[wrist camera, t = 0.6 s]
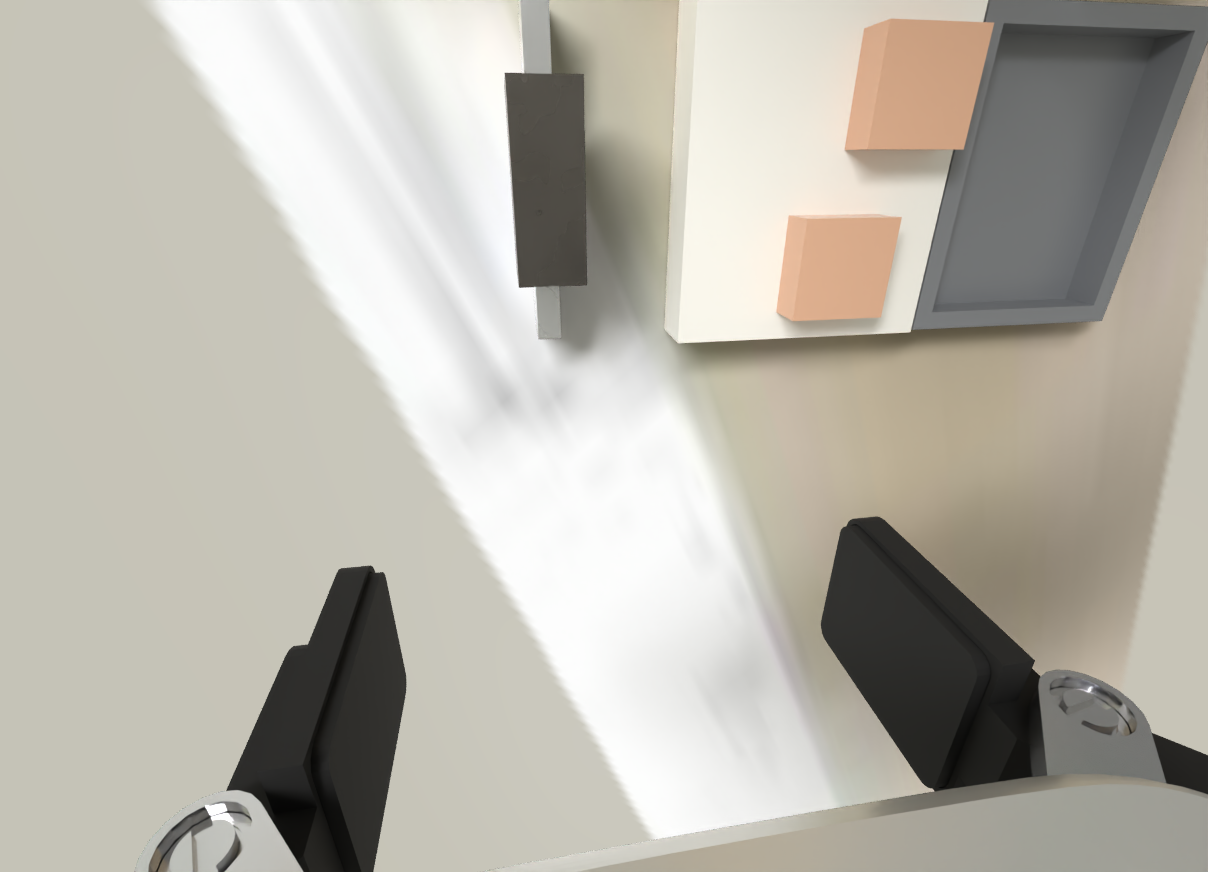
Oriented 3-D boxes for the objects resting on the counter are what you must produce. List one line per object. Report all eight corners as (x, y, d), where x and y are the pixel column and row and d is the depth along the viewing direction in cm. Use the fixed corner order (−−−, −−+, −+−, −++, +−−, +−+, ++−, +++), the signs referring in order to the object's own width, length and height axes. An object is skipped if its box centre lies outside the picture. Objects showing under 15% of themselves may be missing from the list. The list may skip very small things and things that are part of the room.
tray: (954, 9, 29) (991, -4, 27) (1169, 18, 31) (1220, 7, 29) (887, 319, 36) (912, 329, 34) (1066, 311, 38) (1101, 321, 36)
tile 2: (864, 28, 26) (890, 18, 24) (961, 31, 27) (994, 22, 25) (844, 149, 28) (867, 149, 27) (935, 150, 29) (963, 149, 27)
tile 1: (788, 215, 29) (807, 218, 28) (878, 214, 30) (901, 217, 28) (776, 312, 31) (792, 321, 30) (859, 308, 32) (881, 317, 30)
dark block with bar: (498, 4, 26) (497, -45, 20) (562, 7, 27) (581, -41, 21) (519, 325, 33) (524, 363, 27) (571, 323, 33) (588, 360, 27)
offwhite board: (679, -2, 27) (698, -21, 24) (945, 9, 29) (989, -7, 26) (664, 329, 34) (678, 343, 31) (880, 319, 36) (910, 332, 33)
